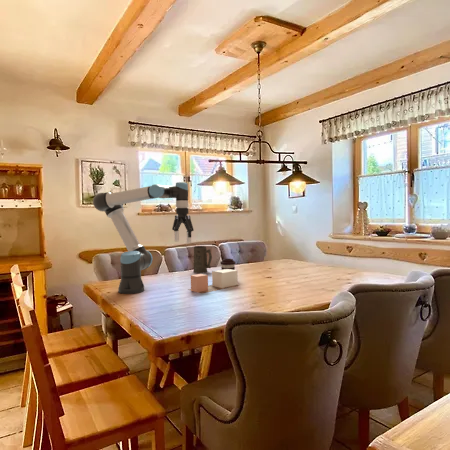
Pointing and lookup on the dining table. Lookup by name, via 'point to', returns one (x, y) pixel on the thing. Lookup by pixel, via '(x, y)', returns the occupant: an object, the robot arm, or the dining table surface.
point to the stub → (199, 282)
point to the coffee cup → (228, 264)
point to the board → (214, 288)
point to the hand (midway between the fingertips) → (182, 242)
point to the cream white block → (224, 278)
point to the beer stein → (201, 259)
